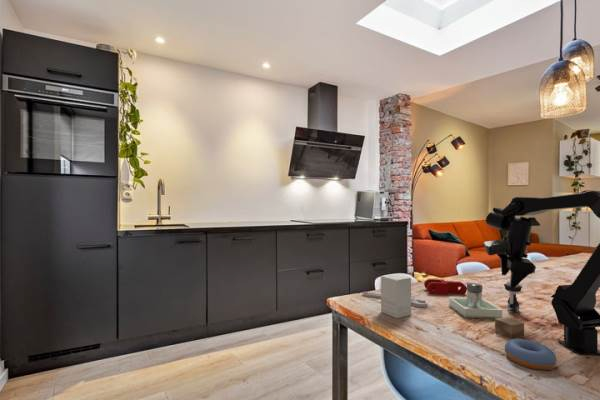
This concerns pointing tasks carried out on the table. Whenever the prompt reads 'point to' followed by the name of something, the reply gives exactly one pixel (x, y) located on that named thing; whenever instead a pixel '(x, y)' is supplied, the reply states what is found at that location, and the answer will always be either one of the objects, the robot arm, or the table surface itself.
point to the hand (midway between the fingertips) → (507, 280)
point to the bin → (475, 309)
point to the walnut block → (509, 327)
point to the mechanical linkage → (444, 287)
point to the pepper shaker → (474, 295)
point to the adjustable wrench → (413, 301)
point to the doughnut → (530, 354)
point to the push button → (513, 297)
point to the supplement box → (396, 295)
